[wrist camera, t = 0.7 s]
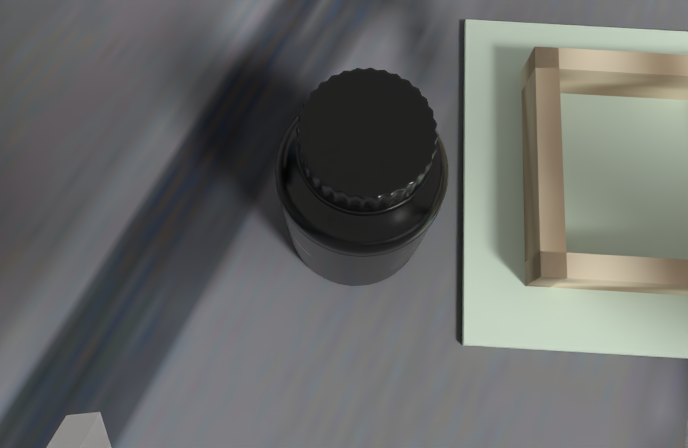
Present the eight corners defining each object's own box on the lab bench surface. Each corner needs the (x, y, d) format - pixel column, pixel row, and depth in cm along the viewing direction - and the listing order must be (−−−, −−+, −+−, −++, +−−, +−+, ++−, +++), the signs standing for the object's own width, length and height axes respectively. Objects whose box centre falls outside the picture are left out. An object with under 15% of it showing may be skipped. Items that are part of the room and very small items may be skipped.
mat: (461, 345, 31) (463, 344, 30) (464, 23, 35) (465, 19, 35) (830, 367, 30) (837, 366, 30) (782, 41, 35) (787, 37, 35)
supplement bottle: (264, 249, 32) (222, 164, 20) (330, 140, 33) (325, 5, 22) (383, 314, 31) (409, 265, 19) (444, 200, 33) (503, 91, 21)
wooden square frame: (525, 286, 31) (541, 276, 29) (521, 71, 34) (534, 46, 32) (765, 299, 31) (801, 291, 29) (739, 83, 34) (769, 59, 32)
